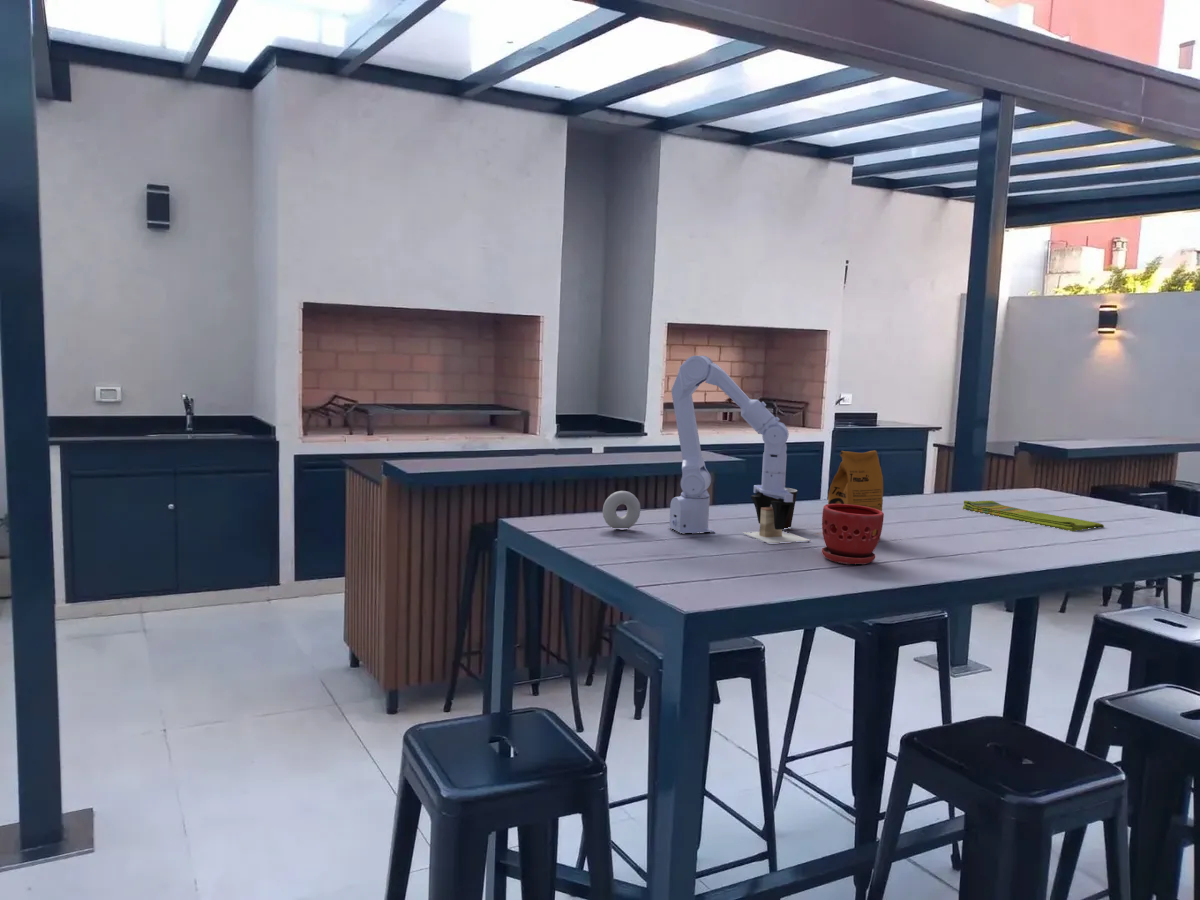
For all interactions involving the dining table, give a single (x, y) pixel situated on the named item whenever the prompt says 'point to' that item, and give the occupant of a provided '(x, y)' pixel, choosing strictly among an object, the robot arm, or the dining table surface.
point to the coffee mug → (790, 516)
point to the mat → (779, 539)
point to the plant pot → (851, 533)
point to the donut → (614, 502)
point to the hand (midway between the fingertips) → (770, 526)
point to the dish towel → (1029, 516)
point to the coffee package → (858, 481)
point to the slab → (768, 523)
